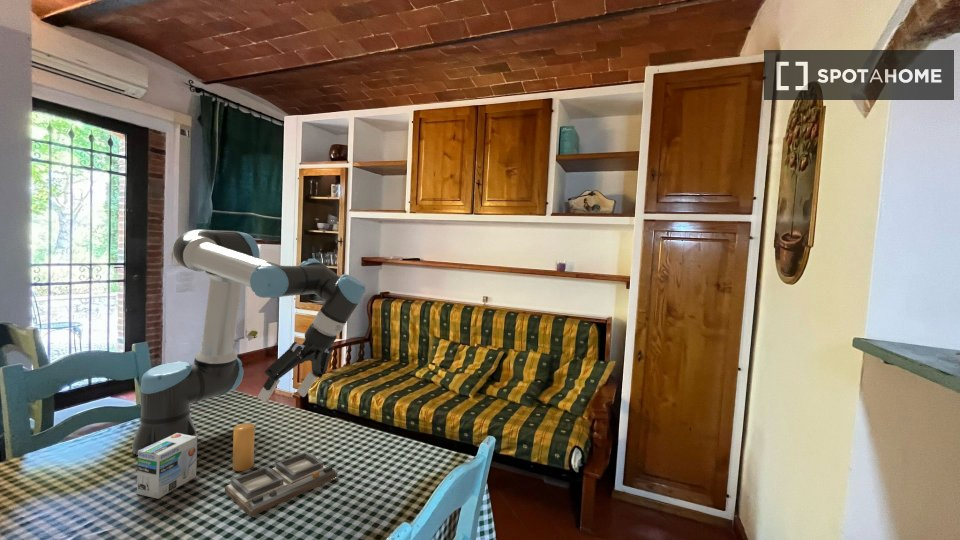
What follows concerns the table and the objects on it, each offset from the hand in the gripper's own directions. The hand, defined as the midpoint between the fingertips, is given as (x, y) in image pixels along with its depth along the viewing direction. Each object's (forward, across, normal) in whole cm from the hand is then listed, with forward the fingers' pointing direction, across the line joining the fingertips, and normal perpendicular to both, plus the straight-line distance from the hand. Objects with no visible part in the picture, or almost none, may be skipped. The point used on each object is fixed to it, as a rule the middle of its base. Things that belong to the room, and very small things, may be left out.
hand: (282, 396), depth 110 cm
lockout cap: (+24, +3, +1) cm, 24 cm away
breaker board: (+17, +1, -14) cm, 22 cm away
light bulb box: (+31, -10, +7) cm, 33 cm away
